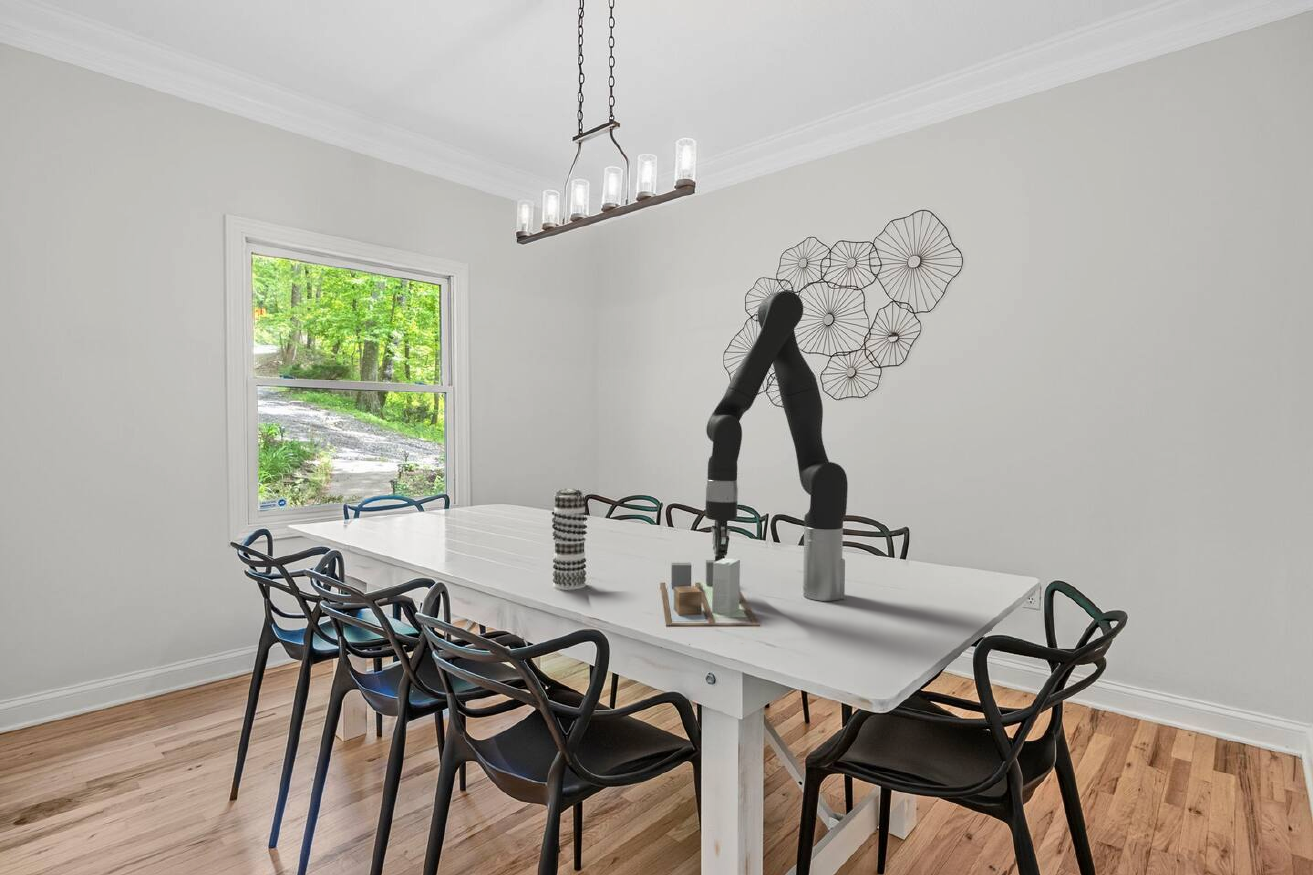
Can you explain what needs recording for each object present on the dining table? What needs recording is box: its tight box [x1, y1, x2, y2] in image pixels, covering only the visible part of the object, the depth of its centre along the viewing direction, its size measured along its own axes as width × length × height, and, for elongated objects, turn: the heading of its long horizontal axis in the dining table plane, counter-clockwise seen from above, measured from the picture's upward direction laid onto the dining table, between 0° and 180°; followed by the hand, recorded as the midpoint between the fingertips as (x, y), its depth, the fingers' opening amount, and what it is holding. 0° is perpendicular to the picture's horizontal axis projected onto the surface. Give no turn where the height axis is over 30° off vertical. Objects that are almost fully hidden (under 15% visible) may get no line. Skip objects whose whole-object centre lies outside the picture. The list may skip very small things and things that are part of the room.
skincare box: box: [711, 557, 741, 615], centre depth 150 cm, size 6×4×12 cm
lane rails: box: [659, 582, 761, 628], centre depth 156 cm, size 19×35×2 cm, turn 2°
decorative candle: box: [551, 488, 589, 591], centre depth 176 cm, size 9×9×25 cm
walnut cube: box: [674, 585, 703, 616], centre depth 149 cm, size 5×5×5 cm
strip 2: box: [701, 559, 747, 618], centre depth 160 cm, size 7×30×7 cm, turn 2°
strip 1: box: [666, 562, 707, 623], centre depth 157 cm, size 7×30×7 cm, turn 2°
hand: (719, 571), depth 162 cm, fingers closed
